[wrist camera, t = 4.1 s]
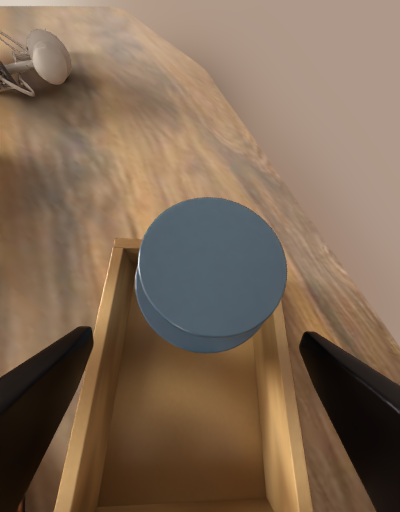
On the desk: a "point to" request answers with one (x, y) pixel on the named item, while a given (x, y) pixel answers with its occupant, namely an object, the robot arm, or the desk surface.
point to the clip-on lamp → (37, 61)
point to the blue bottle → (209, 274)
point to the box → (181, 418)
